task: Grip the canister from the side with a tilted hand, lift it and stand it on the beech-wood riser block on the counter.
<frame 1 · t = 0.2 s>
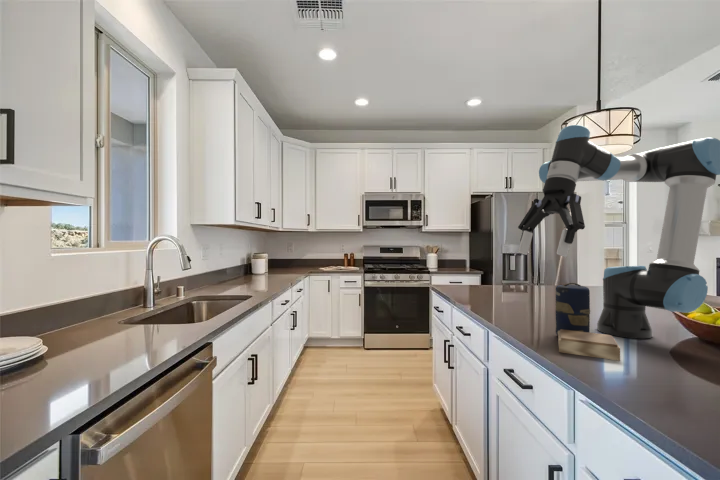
hand: (540, 254, 94), 28 cm above the worktop, tool tilted 20°, fingers open, 13 cm apart
canister: (571, 338, 113), on the worktop
riser: (586, 350, 100), on the worktop
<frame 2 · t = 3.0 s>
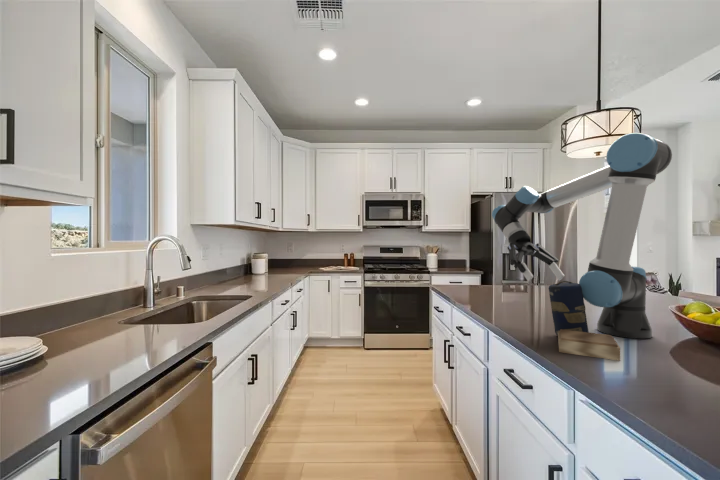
hand: (546, 278, 123), 18 cm above the worktop, tool tilted 45°, fingers open, 13 cm apart
canister: (571, 336, 113), on the worktop, touching arm
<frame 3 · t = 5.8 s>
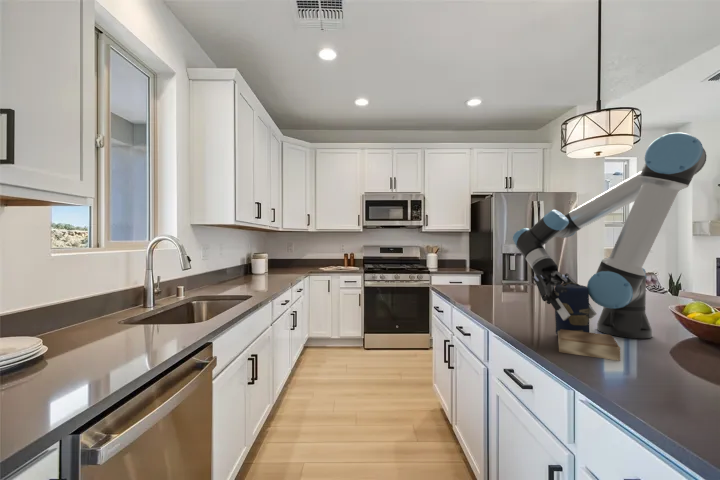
hand: (580, 317, 110), 7 cm above the worktop, tool tilted 45°, fingers open, 10 cm apart
canister: (572, 338, 113), on the worktop, touching arm, gripper
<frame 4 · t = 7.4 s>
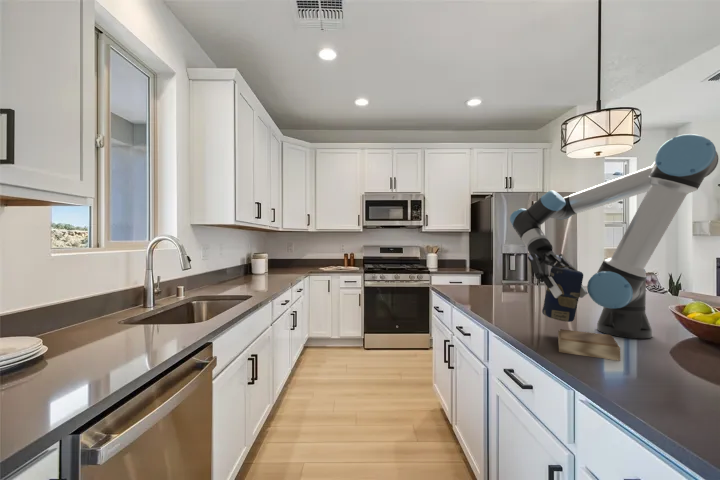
hand: (571, 295, 112), 14 cm above the worktop, tool tilted 40°, fingers closed on canister, 10 cm apart
canister: (556, 319, 115), point 5 cm above the worktop, touching gripper
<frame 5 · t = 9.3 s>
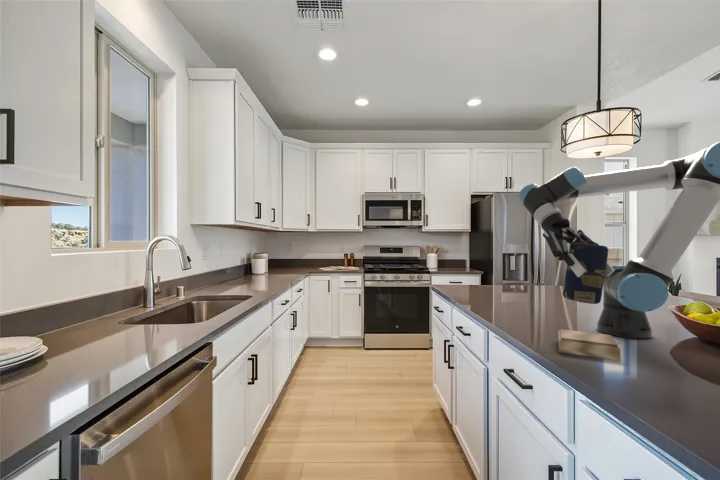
hand: (596, 273, 97), 22 cm above the worktop, tool tilted 45°, fingers closed on canister, 10 cm apart
canister: (580, 302, 101), point 14 cm above the worktop, touching gripper
when the fingers open (13 cm above the worktop, at t = 11.5 s): canister stays where it is, resting on riser.
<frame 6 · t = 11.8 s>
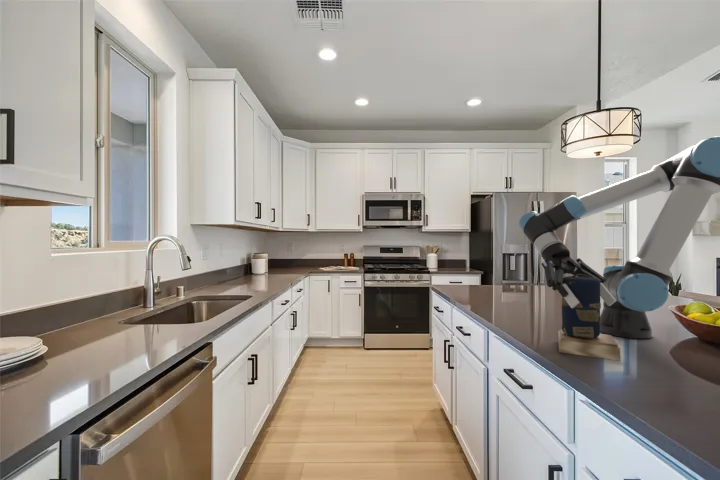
hand: (594, 304, 98), 14 cm above the worktop, tool tilted 45°, fingers open, 13 cm apart
canister: (580, 336, 101), point 4 cm above the worktop, touching riser
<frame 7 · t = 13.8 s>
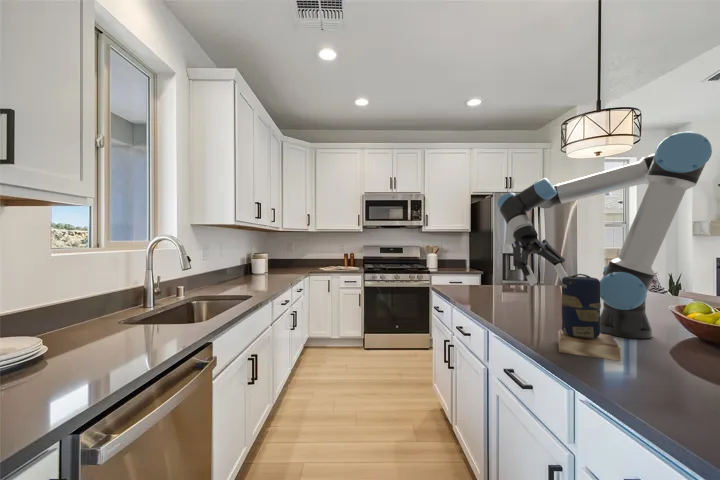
hand: (550, 283, 114), 18 cm above the worktop, tool tilted 35°, fingers open, 13 cm apart
nothing on the worktop moved.
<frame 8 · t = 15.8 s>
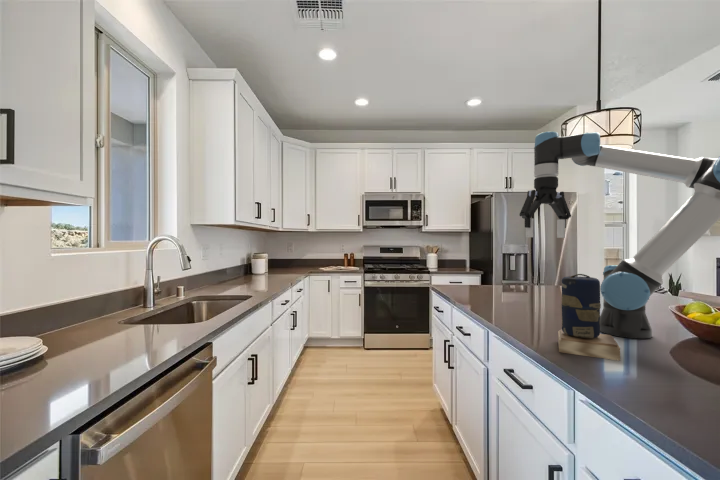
hand: (545, 237, 123), 33 cm above the worktop, tool pointing down, fingers open, 13 cm apart
nothing on the worktop moved.
at the end: canister inside the target area on the riser (1.6 cm from its centre), point 3.8 cm above the riser's base; canister tilted 0°; the gripper is holding nothing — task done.
